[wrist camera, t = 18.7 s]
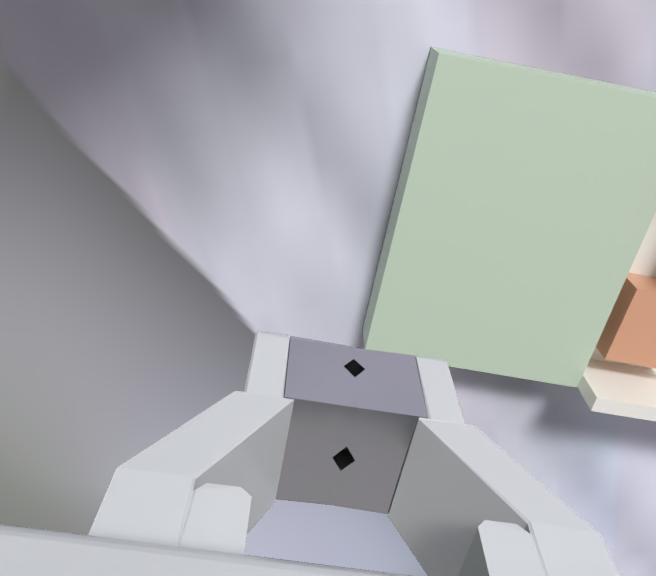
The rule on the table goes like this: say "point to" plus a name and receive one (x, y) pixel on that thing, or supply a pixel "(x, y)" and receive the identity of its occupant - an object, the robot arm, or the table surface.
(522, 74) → the board
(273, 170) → the table surface
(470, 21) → the table surface
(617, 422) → the table surface
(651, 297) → the tile
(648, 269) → the tray
